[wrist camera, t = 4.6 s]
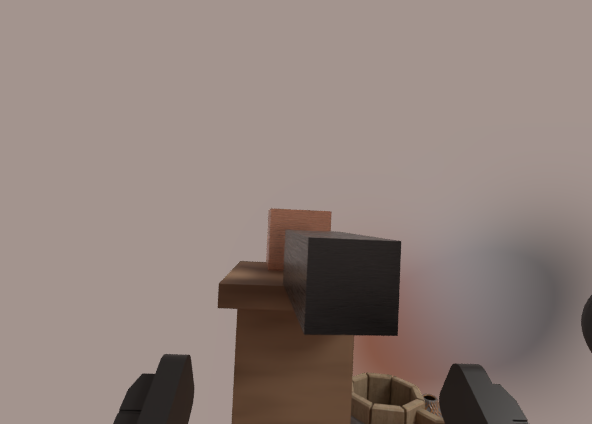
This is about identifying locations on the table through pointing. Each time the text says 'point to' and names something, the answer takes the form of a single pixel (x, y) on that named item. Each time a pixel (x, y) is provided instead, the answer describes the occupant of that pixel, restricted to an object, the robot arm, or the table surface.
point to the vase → (432, 405)
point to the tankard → (388, 401)
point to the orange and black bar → (335, 274)
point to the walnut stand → (282, 356)
